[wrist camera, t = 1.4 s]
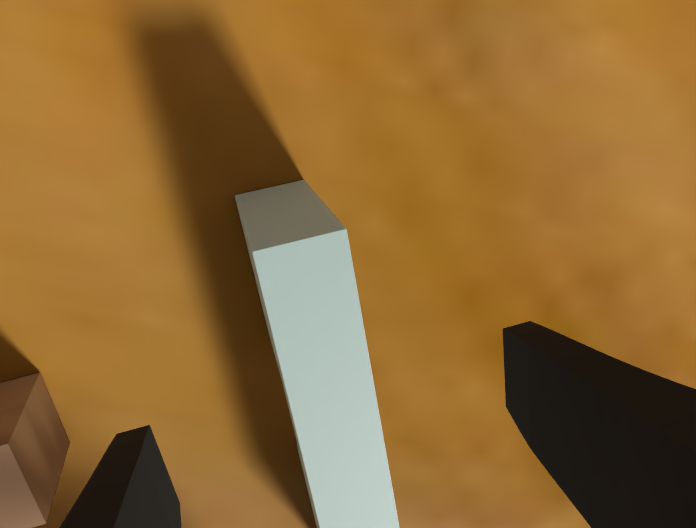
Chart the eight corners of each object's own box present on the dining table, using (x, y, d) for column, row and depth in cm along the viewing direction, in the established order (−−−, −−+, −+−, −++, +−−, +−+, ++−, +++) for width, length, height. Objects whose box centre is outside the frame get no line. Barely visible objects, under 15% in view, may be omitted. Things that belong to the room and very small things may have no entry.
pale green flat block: (373, 527, 26) (421, 653, 21) (320, 544, 26) (356, 677, 21) (303, 179, 20) (346, 228, 15) (234, 195, 20) (252, 251, 14)
